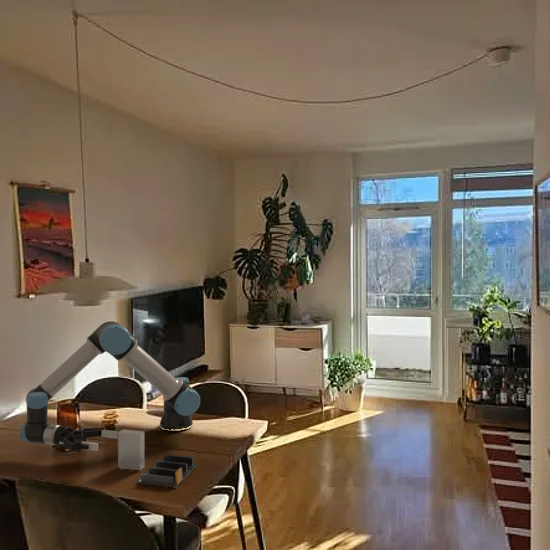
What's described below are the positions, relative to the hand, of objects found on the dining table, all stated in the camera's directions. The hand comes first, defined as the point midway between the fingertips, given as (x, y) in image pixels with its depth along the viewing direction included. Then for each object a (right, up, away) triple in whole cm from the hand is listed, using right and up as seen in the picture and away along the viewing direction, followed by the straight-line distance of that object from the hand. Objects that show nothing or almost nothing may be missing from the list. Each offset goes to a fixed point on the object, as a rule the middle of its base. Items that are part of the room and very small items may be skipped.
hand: (107, 440), depth 201 cm
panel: (+10, -10, -2) cm, 14 cm away
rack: (+25, -10, -7) cm, 28 cm away
